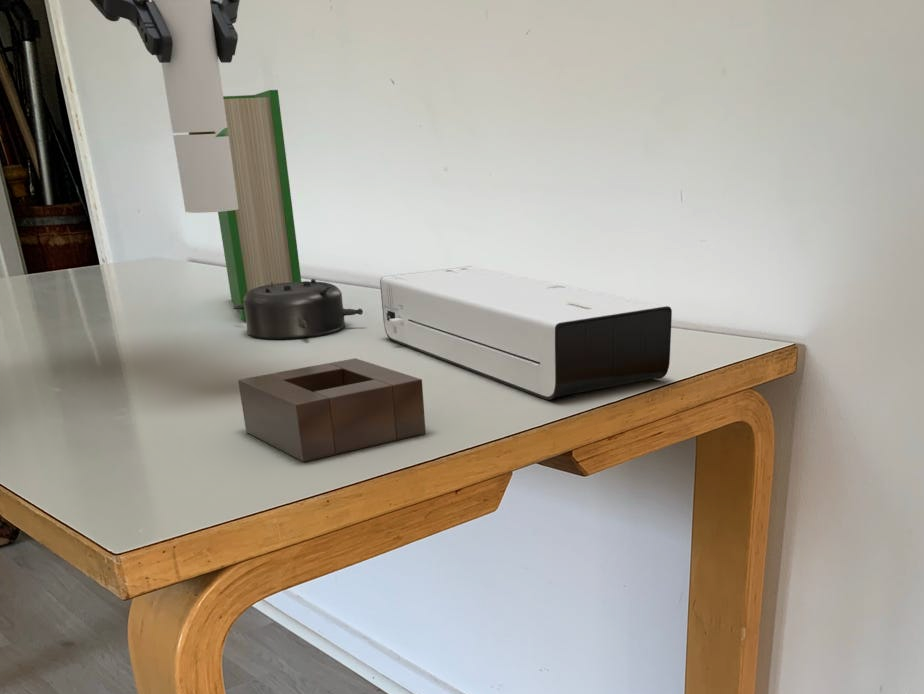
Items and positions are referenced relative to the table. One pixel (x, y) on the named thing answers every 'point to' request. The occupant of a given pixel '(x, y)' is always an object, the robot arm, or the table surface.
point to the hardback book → (258, 198)
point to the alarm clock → (294, 310)
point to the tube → (198, 108)
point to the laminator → (528, 329)
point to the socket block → (332, 408)
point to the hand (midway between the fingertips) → (198, 52)
